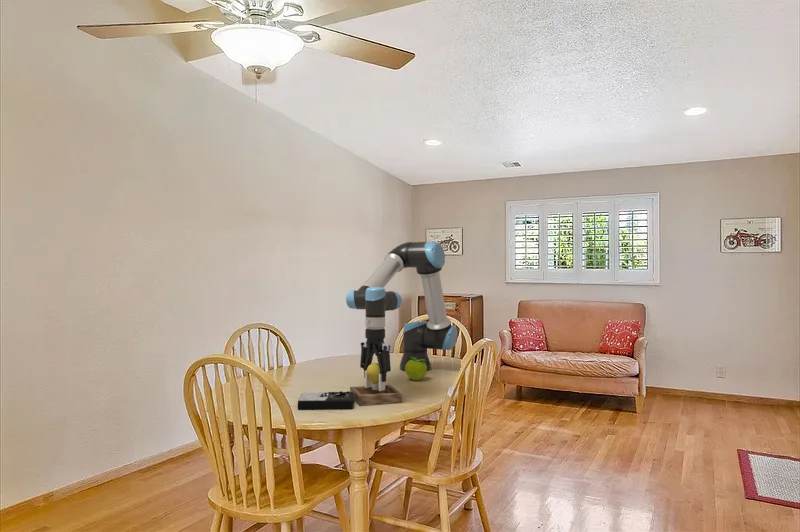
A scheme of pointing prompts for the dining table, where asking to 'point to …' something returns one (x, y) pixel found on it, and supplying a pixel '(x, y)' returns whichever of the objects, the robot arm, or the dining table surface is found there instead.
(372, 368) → the light bulb
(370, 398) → the tray
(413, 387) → the dining table surface
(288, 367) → the dining table surface
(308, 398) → the multimeter
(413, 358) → the fruit
